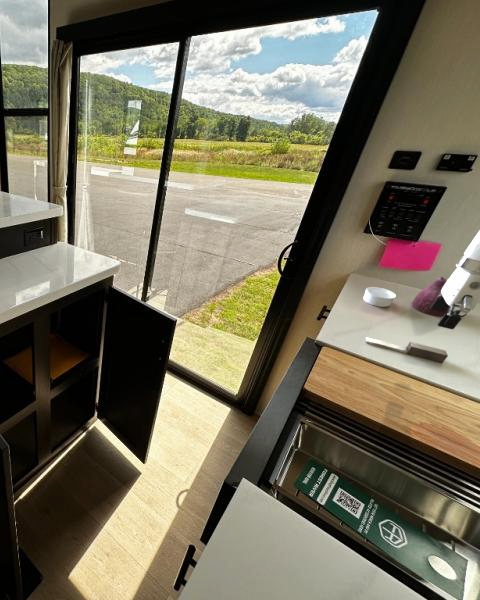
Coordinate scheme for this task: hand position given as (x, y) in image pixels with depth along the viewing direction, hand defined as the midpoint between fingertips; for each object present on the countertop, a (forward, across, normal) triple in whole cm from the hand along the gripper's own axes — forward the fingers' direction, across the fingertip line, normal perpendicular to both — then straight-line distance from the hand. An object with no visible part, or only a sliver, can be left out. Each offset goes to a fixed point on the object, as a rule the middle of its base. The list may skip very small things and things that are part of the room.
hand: (440, 318), depth 91 cm
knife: (+14, 0, +3) cm, 14 cm away
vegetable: (+14, +35, -9) cm, 38 cm away
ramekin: (+14, +31, +7) cm, 35 cm away
